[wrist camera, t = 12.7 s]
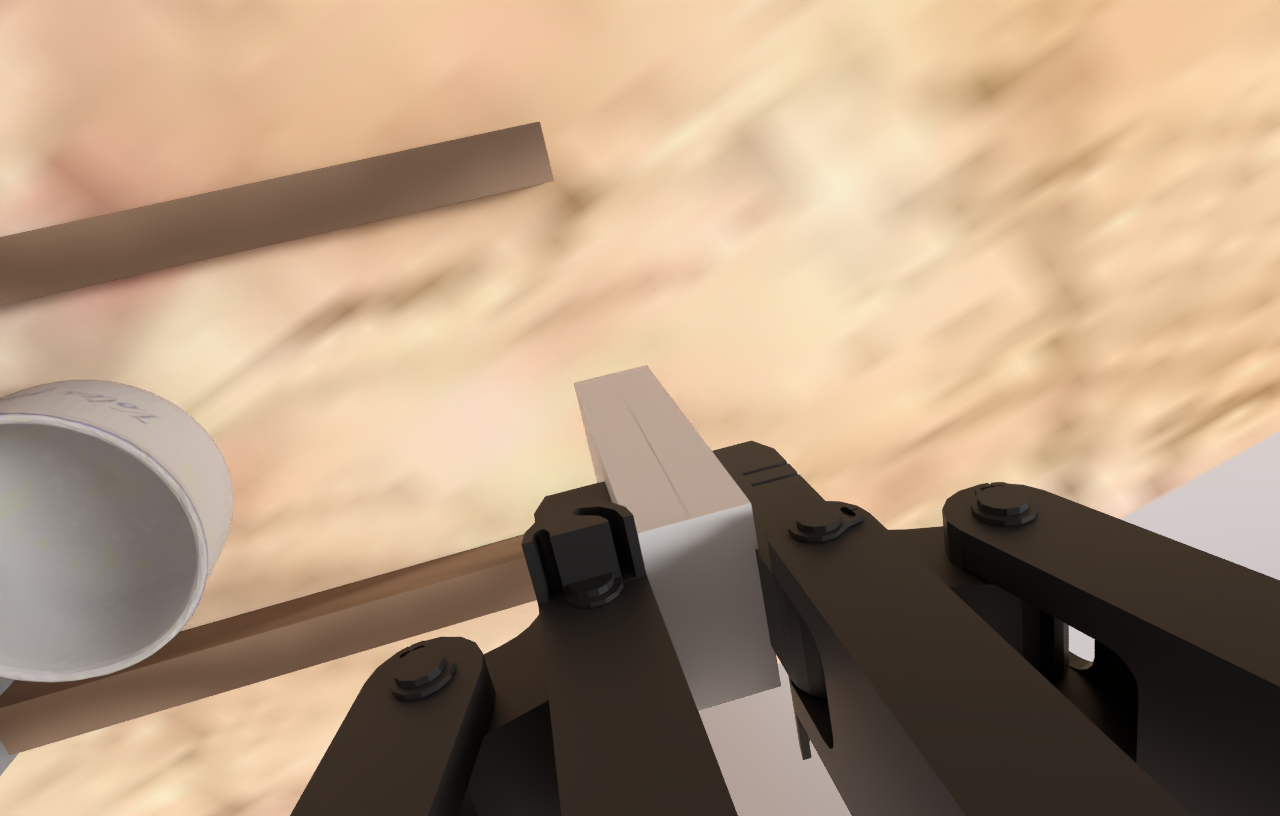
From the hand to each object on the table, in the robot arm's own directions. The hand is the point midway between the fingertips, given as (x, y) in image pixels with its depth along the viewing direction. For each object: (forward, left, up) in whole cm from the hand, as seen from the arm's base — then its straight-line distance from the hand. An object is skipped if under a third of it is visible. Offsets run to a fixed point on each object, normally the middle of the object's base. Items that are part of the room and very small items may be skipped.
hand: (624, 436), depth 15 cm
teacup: (+4, -22, -22) cm, 31 cm away
